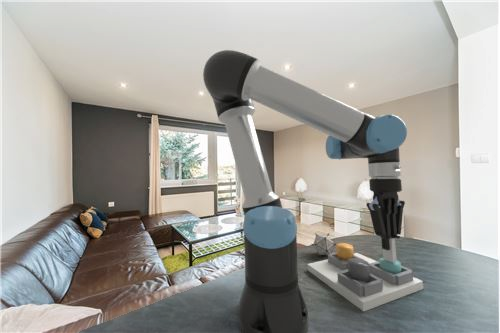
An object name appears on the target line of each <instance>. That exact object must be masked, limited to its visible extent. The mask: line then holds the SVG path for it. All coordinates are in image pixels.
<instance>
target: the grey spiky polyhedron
mask: <svg viewBox="0 0 500 333" xmlns="http://www.w3.org/2000/svg"><path fill="white" fill-rule="evenodd" d="M314 234H315V239H314V241H313V243H311V246H313V247H314V249H315V251H316V252H317V257H320V256H326V255H327V256H328V255H329V254H331V253H333V250H334V248H335V247H336V244H337V243H334V241H333V240H332V238H331V237H330V232H329V233H327V234H317V233H314Z"/></svg>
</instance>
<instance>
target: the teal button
mask: <svg viewBox="0 0 500 333" xmlns="http://www.w3.org/2000/svg"><path fill="white" fill-rule="evenodd" d="M378 261H379V267H380V268H381V269H383V270H385V271H387V272H390V273H392V274H394V275H395V274H398V273H401V266H402V263H401V262H400V261H399V260H397V262H395V263H392V262H389V261H387V260H384V259H383V257H380V258H379V259H378Z"/></svg>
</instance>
